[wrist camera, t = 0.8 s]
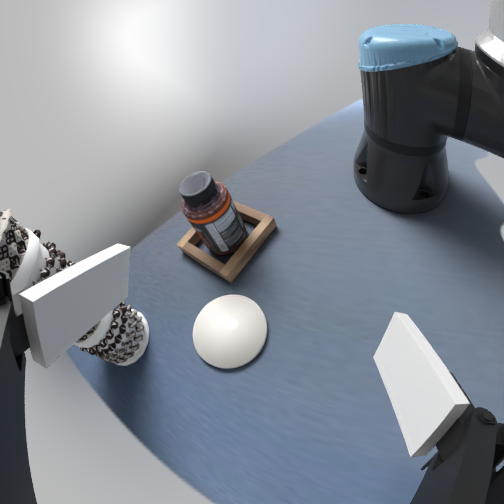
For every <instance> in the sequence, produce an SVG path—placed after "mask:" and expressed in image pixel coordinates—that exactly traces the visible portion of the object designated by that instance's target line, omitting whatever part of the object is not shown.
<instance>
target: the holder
mask: <svg viewBox="0 0 504 504" xmlns="http://www.w3.org/2000/svg"><path fill="white" fill-rule="evenodd" d="M233 202H234V204H235V206H236V209H237V211H238V213H239V215H240V217H241V219H244V220H246V221H248V222H250V223H252V224H255V225H257V227H256V228H255V229H254V230H253V232H252V233H251V234H250V235H249V237H248V238H247V239H246V240H245V241H244V243H243V244H242V245H241V246H240V247H239V249H238V250H237V251H236V252H235V254H234V255H233V256H232V257H231V258H230V260H229V261H228V262H227V263H226V265H225V264H223V263H222V262H220V261H218V260H217V259H215V258H213V257H212V256H210V255H208V254H207V253H205V252H204V251H202V250H200V249H199V248H197V247H195V245H196V244H197V243H198V242H199V241H200V240H201V238H200V236H199V235H198V233H197V232H196V230H195V229H194V228H193V227H192V228H191V229H190V230H189V231H188V232H187V234H186V235H185V236H184V237H183V238H182V239H181V240H180V241H179V243H178V244H177V246H178V247H179V248H180V249H181V250H182V251H183V252H184V253H186V254H187V255H189V256H190V257H192V258H193V259H195V260H196V261H198V262H199V263H201V264H202V265H204V266H205V267H207V268H208V269H210V270H211V271H213V272H215V273H216V274H218V275H219V276H221V277H222V278H224V279H225V280H227V281H229V282H230V283H232V281H233V280H234V279H235V278H236V276H237V275H238V274H239V273H240V271H241V270H242V269H243V268H244V266H245V265H246V264H247V262H248V261H249V260H250V259H251V257H252V256H253V255H254V254H255V252H256V251H257V250H258V249H259V247H260V246H261V245H262V244H263V242H264V241H265V240H266V239H267V237H268V236H269V235H270V234H271V232H272V231H273V230H274V229H275V227H276V223H275V220H274V218H273V217H271V216H269V215H266V214H264V213H262V212H259V211H257V210H254V209H252V208H250V207H247V206H245V205H242V204H240V203H238V202H235V201H233Z"/></svg>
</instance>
